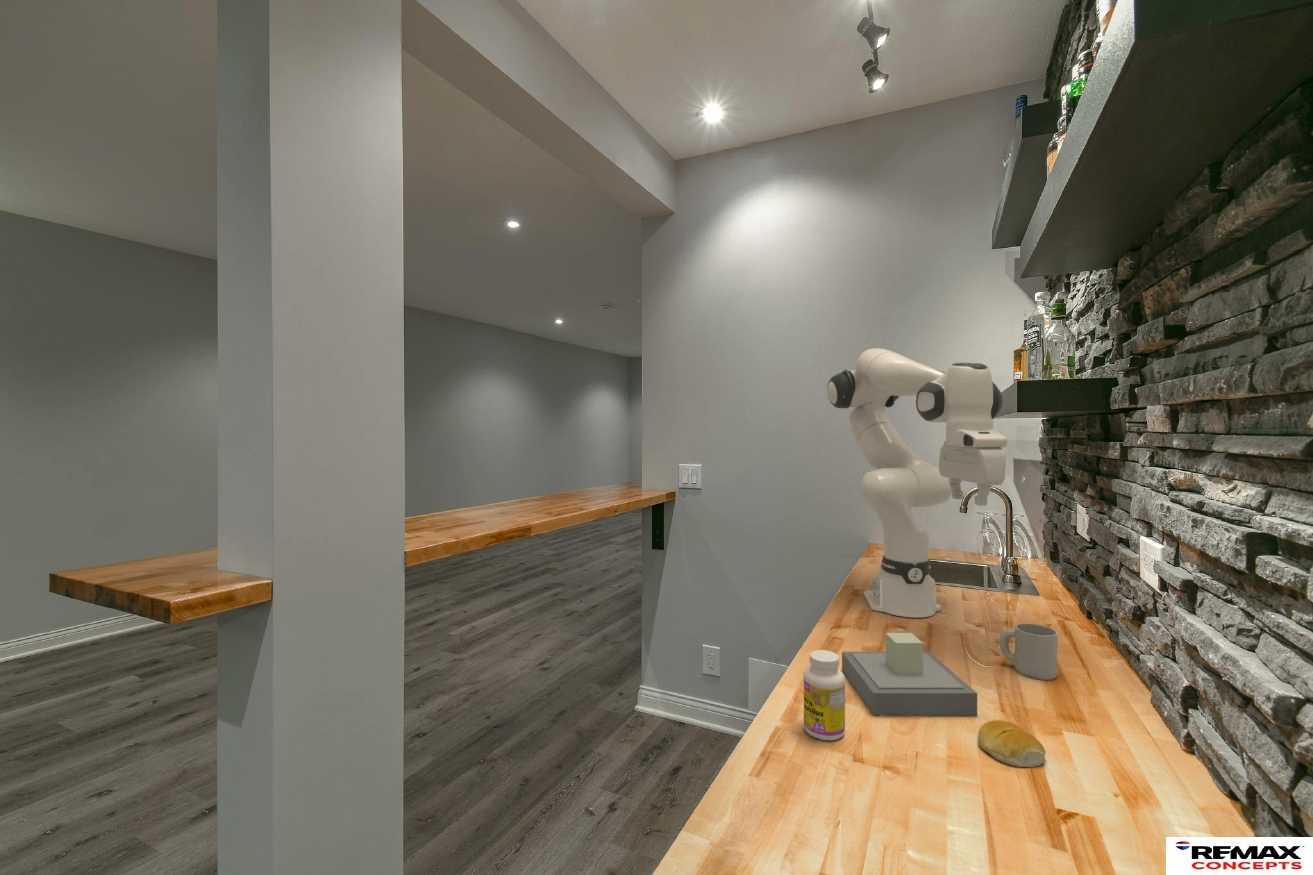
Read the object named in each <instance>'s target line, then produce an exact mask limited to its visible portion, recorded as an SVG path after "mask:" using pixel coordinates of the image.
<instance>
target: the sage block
mask: <svg viewBox="0 0 1313 875" xmlns="http://www.w3.org/2000/svg"><path fill="white" fill-rule="evenodd" d="M885 652H886V664H887V665H888V667H889V668H890V669H891V670H892V671H893V672H894V673H895V674H896V675H923V652H924V642H922V641H921V640H920V639H919V638H918V637H917V636H916V635H915V634H913V633H912V632H885Z"/></svg>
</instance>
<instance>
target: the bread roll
mask: <svg viewBox="0 0 1313 875" xmlns="http://www.w3.org/2000/svg"><path fill="white" fill-rule="evenodd" d="M977 734H978V735H977V740H978V745H979V746H980V748H981V749H982V750H983V751H985V752H986V753H988V754H990V755H991V757H992V758H994V759H996V760H998V761H1000V762H1001V763H1003V764H1007V765H1009V766H1014V767H1018V768H1035V767H1038V766H1041V765H1042V764H1043V763H1044V762H1045V756H1046V750H1045V747H1044V745H1043V744H1042V743H1041V741H1039V740H1038V739H1037V738H1036V737H1034V736H1033V735H1032V734H1030V733H1028V731H1027V732H1026V731H1024V730H1023V729H1022V728H1020V727H1019V726H1018V725H1017V724H1016V723H1013V722H1010V721H1007V720H1006V721H1005V720H1000V719H999V720H997V719H996V720H995V719H994V720H989V721H986V722H985V723H983V724H982V725H981V726H980V728H979V729H978V733H977Z"/></svg>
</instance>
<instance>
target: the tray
mask: <svg viewBox="0 0 1313 875" xmlns="http://www.w3.org/2000/svg"><path fill="white" fill-rule="evenodd" d="M841 672H842V673H843V672H844V673H843V674H844V676H845V678H846V679H847V678H848V679H847V680H848V681H849V683H850V682H851V683H850V684H851V686H852V685H853V686H854V687H853V686H852V687H853V688H855V689H854V690H855V691H856V693H857V692H858V693H857V694H858V696H859V695H860V696H859V697H860V699H861V700H862V701H863V703H864V704H865V705H866V707H867V709H868V710H869V711H870V713H871V714H872V716H875V717H878V716H879V717H881V716H880V715H884V716H883V717H887V716H889V717H893V716H895V717H899V716H900V717H903V716H904V717H909V716H910V717H916V716H917V717H919V716H920V717H922V716H923V717H927V716H928V717H940V716H941V717H942V716H943V717H945V716H946V717H949V716H950V717H951V716H952V717H958V716H959V717H960V716H961V717H973V716H974V717H975V716H976V717H977V716H978V692H976V690H975V689H973V688H972V687H971V686H969V685H968V684H967V683H966V682H965V681H964V680H963V679H962V678H961V677H960V676H958V675H957V674H956V673H955V672H954V671H952V670H951V668H949V667H948V666H947V665H946V664H944V663H943V662H942V661H941V660H940V659H939V658H938V657H937V656H936V655H934V654H933V653H932V652H931V651H923V675H896V674H895V673H894V672H893V671H892V670H891V669H890V668H889V667H888V665H887V664H886V651H841Z"/></svg>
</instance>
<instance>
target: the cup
mask: <svg viewBox="0 0 1313 875" xmlns="http://www.w3.org/2000/svg"><path fill="white" fill-rule="evenodd" d="M1011 638H1014V653H1012V652H1011V651H1010V647H1009V641H1010V639H1011ZM999 648H1000V651H1001V653H1002V656H1004V657H1005V659H1006V660H1009V661H1010V662H1013V663H1014V668H1015V670H1016V671H1017V673H1018V674H1021V675H1022V676H1024V677H1027V678H1029V679H1035V680H1040V681H1051V680H1054V679H1055V678H1056V677H1058V631H1057V630H1055V629H1054V628H1052V627H1050V626H1045V625H1042V624H1036V623H1030V622H1029V623H1027V622H1026V623H1025V622H1023V623H1022V622H1021V623H1016V624H1015V626H1014V629H1012V628H1011V629H1006V630H1004V631H1003V632H1002V633H1001V635H1000V638H999Z"/></svg>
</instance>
